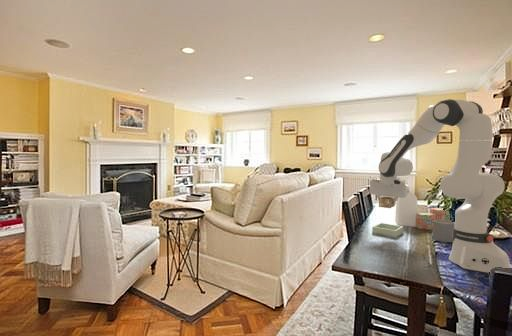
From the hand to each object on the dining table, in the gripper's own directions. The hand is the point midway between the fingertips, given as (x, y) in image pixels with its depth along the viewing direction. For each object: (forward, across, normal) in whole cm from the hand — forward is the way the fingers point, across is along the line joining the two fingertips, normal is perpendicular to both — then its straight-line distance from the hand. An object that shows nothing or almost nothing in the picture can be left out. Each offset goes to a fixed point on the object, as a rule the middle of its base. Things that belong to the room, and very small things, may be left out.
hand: (387, 203), depth 164 cm
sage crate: (+18, 0, +1) cm, 18 cm away
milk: (+18, +2, +33) cm, 38 cm away
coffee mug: (+18, +29, +10) cm, 35 cm away
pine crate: (+2, 0, 0) cm, 2 cm away
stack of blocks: (+18, +18, +34) cm, 43 cm away
